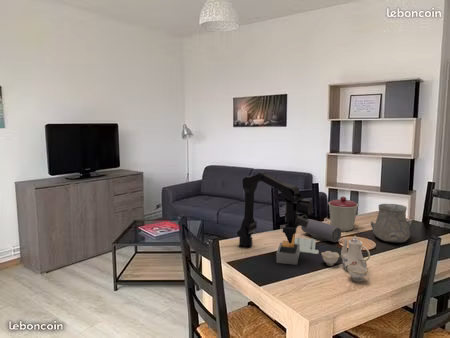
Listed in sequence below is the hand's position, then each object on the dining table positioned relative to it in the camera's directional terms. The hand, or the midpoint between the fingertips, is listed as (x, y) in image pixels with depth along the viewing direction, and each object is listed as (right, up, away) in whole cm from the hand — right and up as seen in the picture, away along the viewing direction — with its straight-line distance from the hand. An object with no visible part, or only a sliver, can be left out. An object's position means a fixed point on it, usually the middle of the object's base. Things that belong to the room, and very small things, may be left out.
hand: (290, 241), depth 170 cm
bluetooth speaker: (+23, -5, +29) cm, 38 cm away
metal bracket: (+10, -7, +14) cm, 19 cm away
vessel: (+63, -5, +25) cm, 68 cm away
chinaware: (+24, -11, -14) cm, 30 cm away
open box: (-1, -9, +2) cm, 9 cm away
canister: (+42, -2, +47) cm, 63 cm away
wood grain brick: (-1, -2, +1) cm, 3 cm away
